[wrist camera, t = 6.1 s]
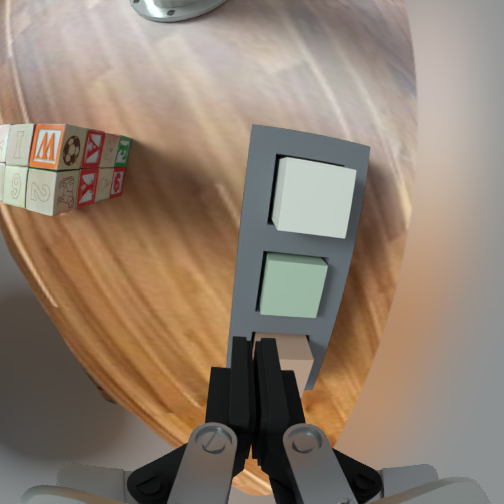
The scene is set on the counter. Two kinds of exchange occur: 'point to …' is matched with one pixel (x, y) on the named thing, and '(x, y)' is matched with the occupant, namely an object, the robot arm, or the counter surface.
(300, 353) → the beige cube
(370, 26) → the counter surface
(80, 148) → the stack of blocks
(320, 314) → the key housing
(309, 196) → the key cream
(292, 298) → the key sage
